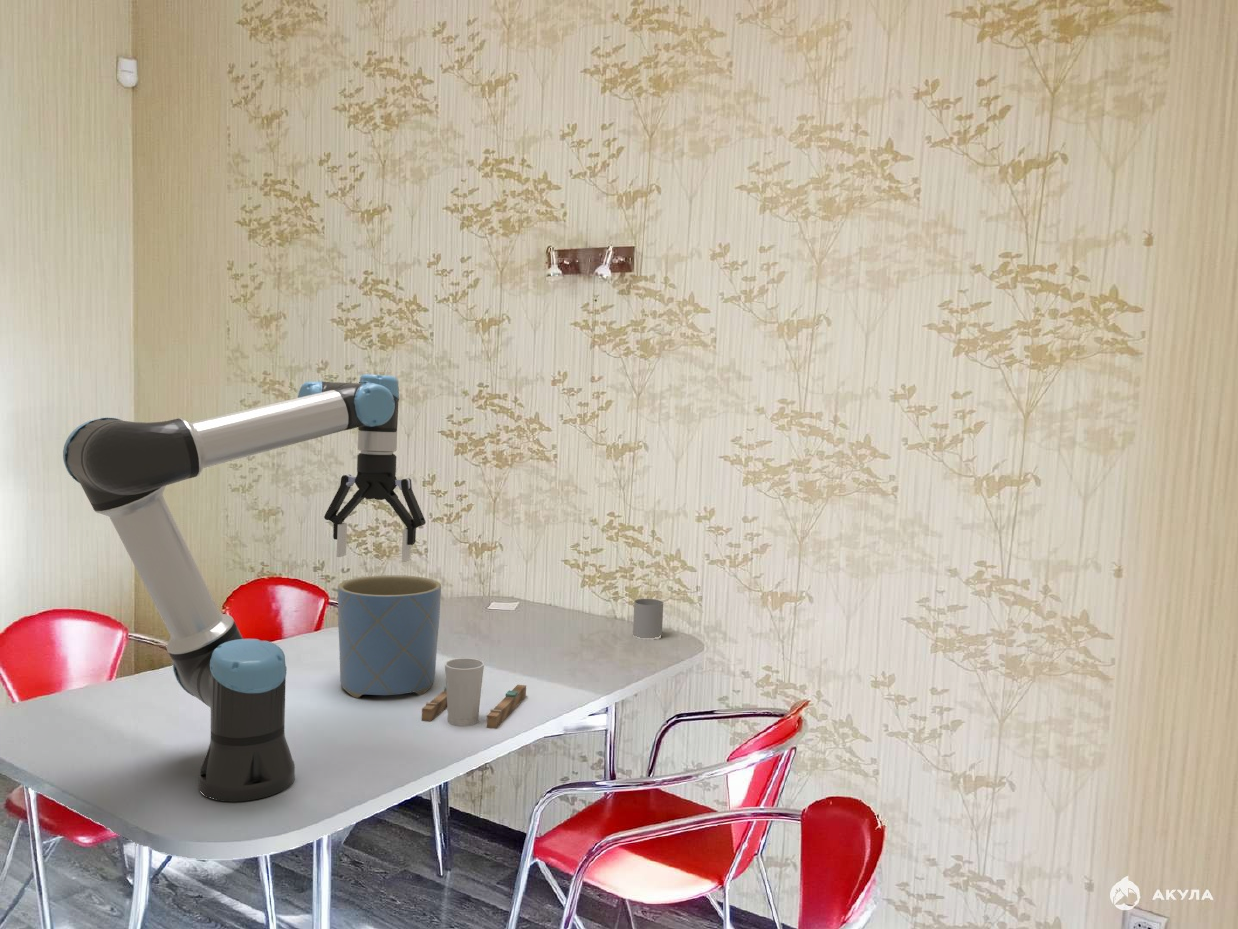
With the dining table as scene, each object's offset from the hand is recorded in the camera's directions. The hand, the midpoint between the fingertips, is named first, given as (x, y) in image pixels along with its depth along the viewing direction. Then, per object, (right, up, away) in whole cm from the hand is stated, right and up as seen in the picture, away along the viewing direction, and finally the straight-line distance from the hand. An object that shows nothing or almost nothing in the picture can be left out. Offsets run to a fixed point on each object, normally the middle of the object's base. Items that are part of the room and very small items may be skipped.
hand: (373, 558), depth 183 cm
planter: (-4, -32, +26) cm, 41 cm away
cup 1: (+17, -34, +6) cm, 39 cm away
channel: (+18, -34, +14) cm, 41 cm away
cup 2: (+57, -31, +79) cm, 102 cm away
